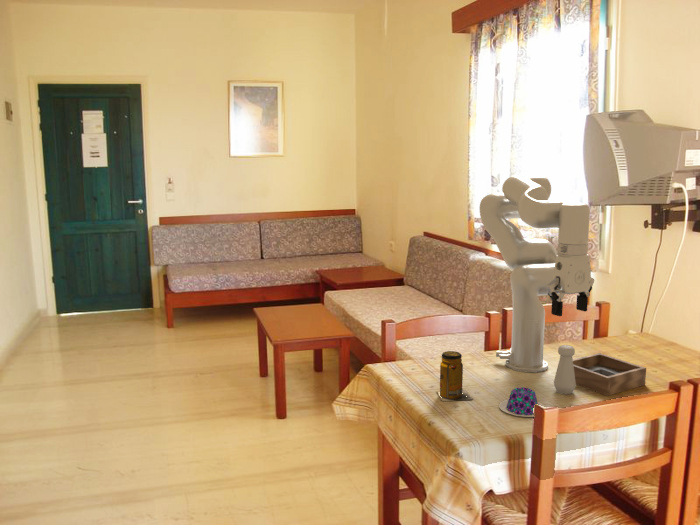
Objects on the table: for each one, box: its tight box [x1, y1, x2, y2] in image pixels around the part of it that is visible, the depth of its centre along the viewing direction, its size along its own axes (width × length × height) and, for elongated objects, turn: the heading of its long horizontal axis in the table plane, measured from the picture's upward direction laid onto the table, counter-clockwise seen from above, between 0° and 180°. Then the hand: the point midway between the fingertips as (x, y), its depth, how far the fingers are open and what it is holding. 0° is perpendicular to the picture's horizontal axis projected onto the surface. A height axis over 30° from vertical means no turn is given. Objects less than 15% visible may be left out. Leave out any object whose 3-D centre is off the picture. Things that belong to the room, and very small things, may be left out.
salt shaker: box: [553, 344, 577, 396], centre depth 183 cm, size 6×6×13 cm
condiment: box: [439, 350, 474, 402], centre depth 180 cm, size 7×8×12 cm
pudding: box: [498, 386, 546, 418], centre depth 172 cm, size 12×12×5 cm
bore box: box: [573, 352, 647, 397], centre depth 191 cm, size 16×16×5 cm
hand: (569, 312), depth 180 cm, fingers open, 9 cm apart
